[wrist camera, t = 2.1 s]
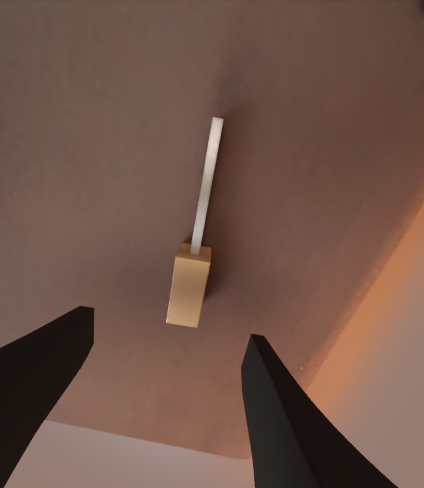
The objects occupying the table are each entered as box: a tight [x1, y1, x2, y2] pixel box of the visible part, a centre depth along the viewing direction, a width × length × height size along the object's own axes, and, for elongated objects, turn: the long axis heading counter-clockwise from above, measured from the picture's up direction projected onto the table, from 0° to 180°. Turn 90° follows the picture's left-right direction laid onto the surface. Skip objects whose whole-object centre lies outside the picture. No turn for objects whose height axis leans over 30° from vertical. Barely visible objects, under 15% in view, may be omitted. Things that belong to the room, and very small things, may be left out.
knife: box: [166, 117, 223, 328], centre depth 15 cm, size 13×2×3 cm, turn 169°
